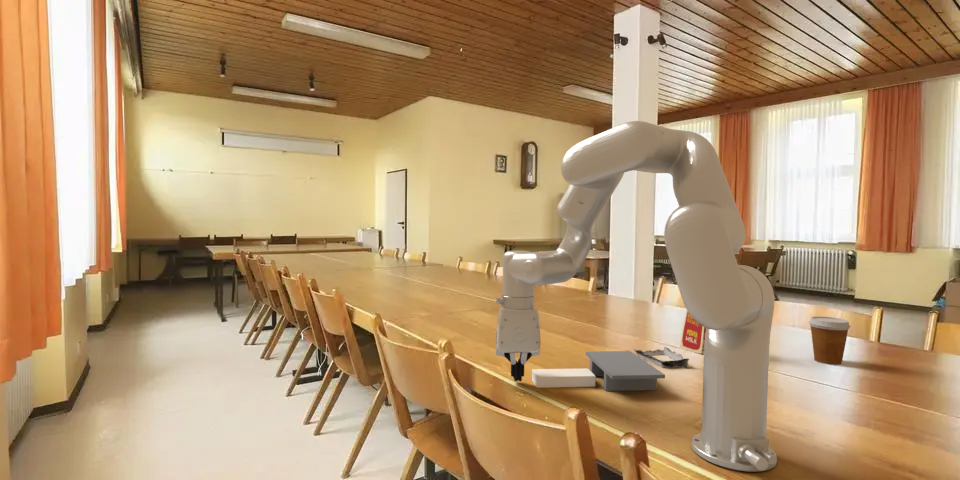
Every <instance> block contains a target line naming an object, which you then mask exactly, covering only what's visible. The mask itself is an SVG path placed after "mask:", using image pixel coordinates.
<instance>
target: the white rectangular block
mask: <svg viewBox="0 0 960 480" xmlns="http://www.w3.org/2000/svg"><path fill="white" fill-rule="evenodd" d="M596 377H597V376H595V375H594V374H593V373H592V372H591V371H590V368H532V369H531V380H532V382H533V384H534V386H535V387H536V388H542V389H543V388H585V387H586V388H588V387H595V388H596Z"/></svg>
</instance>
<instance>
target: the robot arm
mask: <svg viewBox="0 0 960 480" xmlns="http://www.w3.org/2000/svg"><path fill="white" fill-rule="evenodd" d="M721 163H722V162H721V160H720V158H719V155H718V153H717V151H716V149H715V148H714V146H713V144H712V143H711V142H710V141H709V140H708V139H707V138H706V137H705V136H703V135H702V134H699V133H697V132H694V131H689V130H683V129H682V130H681V129H676V128H675V129H673V128H667V127H665V126H660V125H658V124H657V125H656V124H654V123H651V122H647V121H643V120H642V121H641V120H634V121H627V122H624V123H621V124H618V125H616V126H614V127H611V128H609V129H606V130H605V131H602V132H600V133H597V134H595V135H592V136H590V137H587V138H585V139H583V140H580V141H578V142H577V143H575V144H574V145H572V146H571V147H570V148H569V149H567V151H566V152H565V153H564V155H563V158H562V159H561V164H560V171H561V176H562V178H563V179H564V181H566V183H567V184H569V185H568V186H567V188H566V190H565V192H564V194H563V195H562V198H561V199H560V200H559V202H558V204H557V208H556V210H557V213H558V215H559V217H560V218H561V219H562V220H563V221H564V222H565V223H566V232H565V235H564V237H563V239H562V241H560V243H559V244H558V245H559V246H558V247H557V248H556V250H547V251H535V252H534V251H533V252H532V251H528V250H508V251H505V252H504V254H503V256H502V295H501V297H497V298H496V299H495V300H496V301H495V302H496V305H497V304H498V305H501V306H502V307H500V308H499V310H498V315H497V323H496V324H497V325H496V335H495V336H496V337H495V339H496V340H495V343H496V345H495V350H494V353H495V355H496V356H498V357H503V358H505V359H507V360H508V362H510V377H512V378H513V381H514V382H518V381H519V382H522V381H523V380H522V379H523V377H525V364H526V363H527V362H528V360H530V359H531V357H536V356H539V355H540V354H541V326H540V325H541V323H540V316H539V311H538V309H537V307H535V287H539V286H549V285H554V284H561V283H562V284H563V283H566V282H568V281H569V280H571V279H572V278H573V277H574V276H575V275H576V274H577V272H578V271H579V269H580V268H581V267H582V265H583V263H584V262H585V260H586V258H587V257H588V255H589V252H590V250H591V247H592V240H593V226H594V225H595V223H596V221H597V219H598V217H599V216H600V215H601V213H602V211H603V210H604V208H605V207H606V205H607V204H608V202H609V200H610V199H611V197H612V195H613V194H614V191H616V189H617V187H618V186H619V184H620V182H621V180H622V179H623V177H624V174H625V173H627V172H631V171H636V172H641V173H642V172H643V173H650V174H668V175H669V174H670V175H671V177H672V187H673V194H674V196H675V199H676V201H677V205H678V207H677V208H676V209H675V210H673V211H672V213H670V215H669V216H668V219H667V220H666V223H665V226H664V236H663V237H664V245H665V249H666V253H667V255H668V259H669V262H670V265H671V268H672V271H673V274H674V278H675V281H676V284H677V287H678V290H679V293H680V297H681V299H682V302H683V304H684V307H685V308H686V311H688V312H689V314H690V315H691V317H692V318H693V319H694V320H695V321H696V322H697V323H698V324H700V325H701V326H703V327H705V328H706V334H705V343H704V354H703V368H702V369H703V370H702V407H701V410H702V411H701V412H702V413H701V416H702V417H701V431H700V432H698V433H696V434H694V435H693V436H692V437H691V448H692V450H693V451H694V453H696V454H697V455H698V456H699V457H700V458H702V459H703V460H705V461H707V462H709V463H711V464H713V465H717V466H720V467H722V468H726V469H729V470H730V469H731V470H735V471H741V472H752V473H753V472H754V473H756V472H765V471H768V470H771V469H773V468H774V467H776V466H777V462H778V458H777V457H778V456H777V454H776V452H775V451H774V450H773V448H771V447H770V445H769V442H770V440H769V438H767V421H768V419H767V417H768V391H769V390H768V388H769V363H770V360H769V359H770V342H771V341H770V340H771V331H772V324H773V317H774V311H775V293H774V289H773V286H772V284H771V282H770V280H769V279H768V278H767V276H766V275H765V274H764V273H763V272H761V271H760V270H759V269H757V268H755V267H752V266H749V265H746V264H745V265H743V264H738V262H737V258H736V256H735V254H737V253H738V252H739V251H740V250H741V249H742V247H743V246H744V245H745V242H746V238H747V237H746V236H747V235H746V227H745V223H744V221H743V218H742V217H741V214H740V211H739V208H738V206H737V204H736V200H735V198H734V195H733V193H732V189H731V186H730V185H729V182H728V180H727V177H726V175H725V172H724V170H723V169H724V168H723V165H722V164H721ZM516 353H517V354H518V353H519V355H518V356H519V357H518V359H516V358H517V357H516Z"/></svg>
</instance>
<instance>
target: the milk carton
mask: <svg viewBox="0 0 960 480" xmlns="http://www.w3.org/2000/svg"><path fill="white" fill-rule="evenodd" d="M685 311H686V312H685V316H684V321H683V322H684V323H683V327H682V332H681V338H680V343H679V349H682V350H685V351H688V352H691V353H692V352H693V353H697V354H700V355H702V354H703V355H704V343H705V334H706V328H705V327H703V326H701V325H700V324H698V323H697V322H696V321H695V320H694V319H693V318H692V317H691V315H690V314H689V312H688V311H687V310H685Z"/></svg>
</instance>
